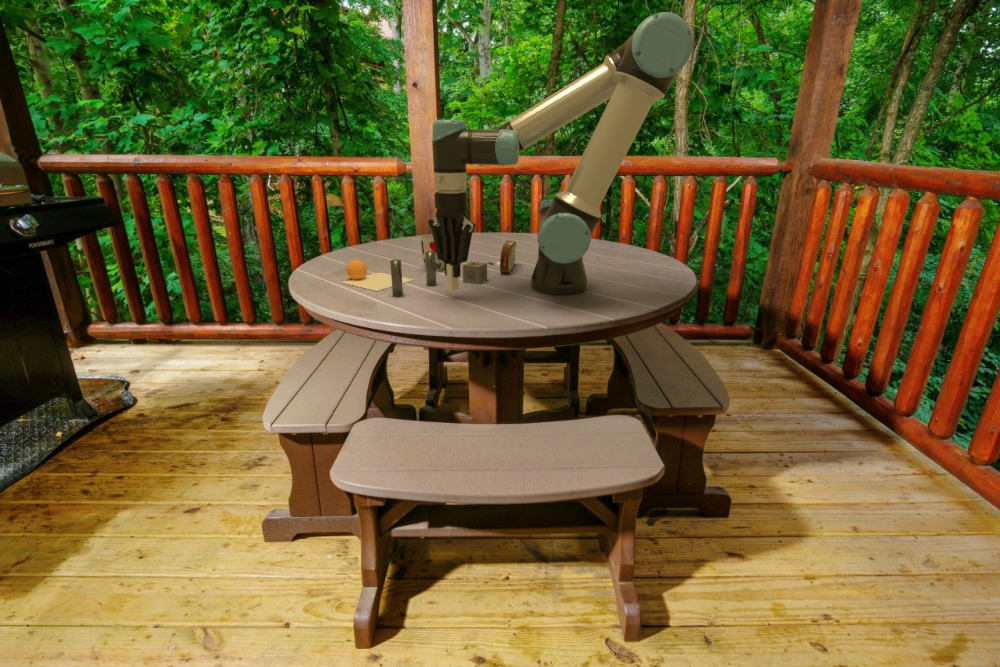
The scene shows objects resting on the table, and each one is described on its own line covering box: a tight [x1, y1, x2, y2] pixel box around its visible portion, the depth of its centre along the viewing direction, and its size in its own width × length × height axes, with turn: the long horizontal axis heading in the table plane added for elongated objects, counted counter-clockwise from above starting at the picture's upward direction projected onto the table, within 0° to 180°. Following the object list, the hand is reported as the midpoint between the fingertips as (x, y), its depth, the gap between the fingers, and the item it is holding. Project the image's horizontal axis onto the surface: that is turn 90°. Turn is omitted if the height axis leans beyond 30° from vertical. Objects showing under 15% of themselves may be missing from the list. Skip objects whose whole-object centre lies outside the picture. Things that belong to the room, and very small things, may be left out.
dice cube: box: [462, 261, 488, 285], centre depth 146 cm, size 5×5×5 cm
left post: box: [389, 259, 404, 298], centre depth 132 cm, size 3×3×9 cm
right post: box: [425, 251, 437, 287], centre depth 142 cm, size 3×3×9 cm
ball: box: [346, 259, 368, 280], centre depth 147 cm, size 6×6×6 cm
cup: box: [419, 233, 445, 272], centre depth 158 cm, size 8×8×10 cm
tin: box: [499, 240, 517, 274], centre depth 158 cm, size 15×3×8 cm, turn 170°
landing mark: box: [341, 271, 415, 292], centre depth 146 cm, size 14×14×1 cm
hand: (453, 289), depth 131 cm, fingers closed
